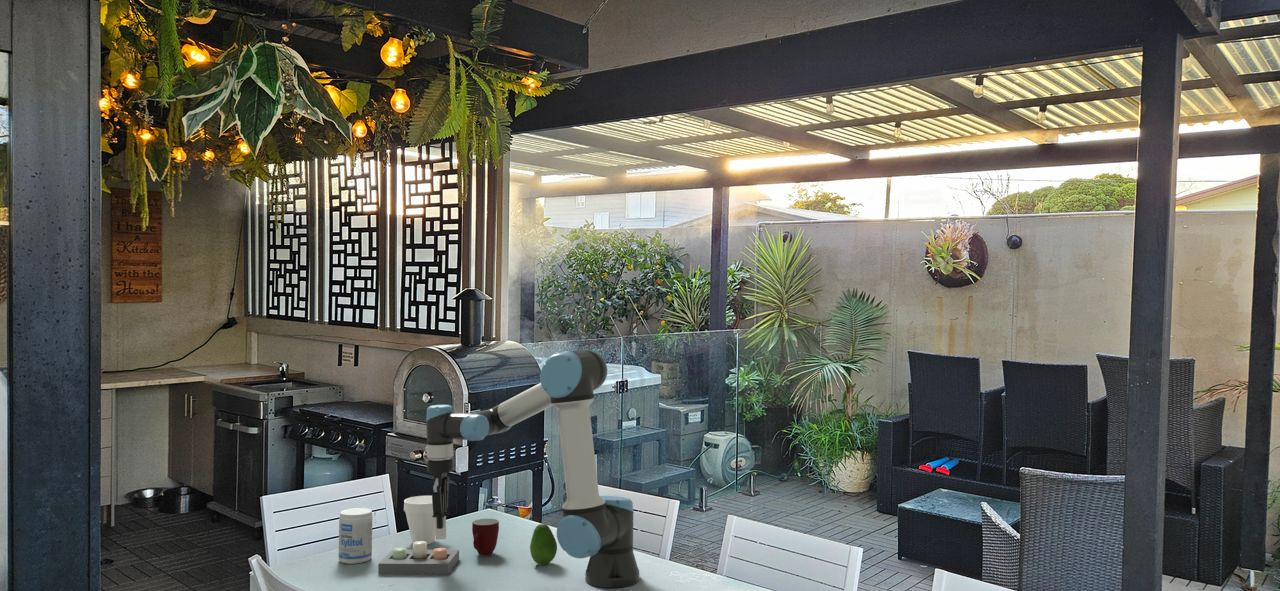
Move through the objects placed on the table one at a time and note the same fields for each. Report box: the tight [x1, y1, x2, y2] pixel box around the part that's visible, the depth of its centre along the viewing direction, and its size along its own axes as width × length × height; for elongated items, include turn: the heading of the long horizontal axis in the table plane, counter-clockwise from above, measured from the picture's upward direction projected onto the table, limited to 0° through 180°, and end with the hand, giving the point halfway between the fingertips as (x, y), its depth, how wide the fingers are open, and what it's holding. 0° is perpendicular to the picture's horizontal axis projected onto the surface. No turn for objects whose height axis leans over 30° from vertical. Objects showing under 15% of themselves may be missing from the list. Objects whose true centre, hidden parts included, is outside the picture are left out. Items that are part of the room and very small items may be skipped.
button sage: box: [392, 547, 408, 559], centre depth 255 cm, size 4×4×4 cm
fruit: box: [529, 523, 558, 566], centre depth 257 cm, size 8×8×12 cm
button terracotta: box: [432, 547, 448, 559], centre depth 255 cm, size 4×4×4 cm
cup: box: [403, 495, 436, 545], centre depth 282 cm, size 12×12×14 cm
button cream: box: [412, 541, 428, 559], centre depth 255 cm, size 4×4×4 cm
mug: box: [471, 518, 500, 557], centre depth 266 cm, size 10×8×10 cm
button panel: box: [377, 549, 460, 575], centre depth 255 cm, size 20×14×3 cm
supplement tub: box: [338, 507, 373, 565], centre depth 262 cm, size 10×10×15 cm
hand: (440, 538), depth 255 cm, fingers closed
